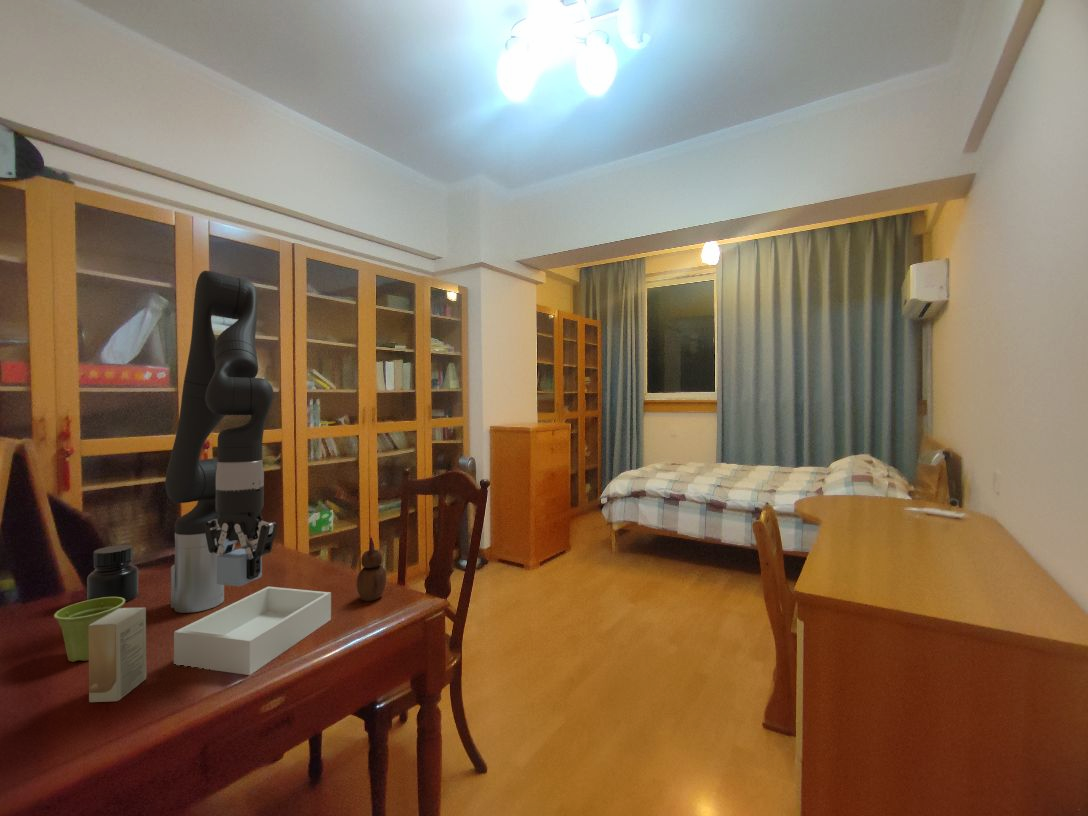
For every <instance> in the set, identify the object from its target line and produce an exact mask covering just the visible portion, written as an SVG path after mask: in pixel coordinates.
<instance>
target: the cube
mask: <svg viewBox="0 0 1088 816" xmlns="http://www.w3.org/2000/svg"><path fill="white" fill-rule="evenodd" d="M253 551H255V550H254V549H253ZM247 560H248V558H247V555H246V552H245V549H244V548H238V549H234V550H233V551H231V552H228V553H225V554H223V555H220V556H217V584H219V585H224V586H231V587H232V586H234V587H242V586H244V585H247V584H249V583H251V582H253V581H255V580H258V579H260V578H261V577H263V555H262V556H261V571H260V574H259V575H258V577H256V578H254V579H252V580H249V579H247Z"/></svg>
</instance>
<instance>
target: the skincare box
mask: <svg viewBox="0 0 1088 816" xmlns="http://www.w3.org/2000/svg"><path fill="white" fill-rule="evenodd" d="M146 621H147V607H122V608H119V609H117V610H115V611H113V612H111V613H109V614H107V615H106V616H104V617H102V618H100V619H99V620H97V621H95V622H93V623H92V624H90V625H88V626H89V627H88V629H89V660H88V702H89V703H99V702H100V703H103V702H104V703H107V702H108V703H110V702H119V701H120V700H121V699H123V698H124V697H125V696H126V695H128V694H130V692H132V691H133V690H134V689H135V688H137V687H138V686H139V685H140V684H141V683H143V682H144V681H145V680H147V622H146Z"/></svg>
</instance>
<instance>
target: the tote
mask: <svg viewBox="0 0 1088 816" xmlns="http://www.w3.org/2000/svg"><path fill="white" fill-rule="evenodd" d="M331 620H332V591H331V592H329V591H319V590H309V589H308V590H307V589H298V588H288V587H287V588H286V587H277V586H266V587H264V588H262V589H260V590H258V591H256V592H254V593H252V594H250V595H248V596H245V597H243V598H241V599H240V600H237V601H236V602H233V603H231V604H229V605H227V606H225V607H223V608H221V609H219V610H216V611H214V612H212V613H210V614H207V615H206V616H204V617H202V618H200V619H198V620H196V621H194V622H191V623H190V624H187V625H185V626H183V627H181V628H179V629H177V630H175V631H173V665H174V664H176V665H175V666H180V665H184V666H183V667H187V666H191V667H190V668H194V667H199V668H198V669H202V668H204V669H203V670H209V669H210V671H218V672H224V673H232V674H239V675H244V676H251V675H252V674H254V673H255V672H256V671H258V670H259V669H261V668H262V667H264V666H265V665H267V664H268V663H270V662H271V661H273V660H274V659H275V658H277V657H279V656H280V655H281V654H283V653H284V652H285V651H287V650H289V649H290V648H291V647H293V646H295V645H296V644H298V643H299V642H300V641H302V640H303V639H305V638H306V637H308V636H309V635H310V634H312V633H314V632H315V631H316V630H318V629H319V628H321V627H322V626H324V625H325V624H326V623H328V622H330V621H331Z"/></svg>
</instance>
